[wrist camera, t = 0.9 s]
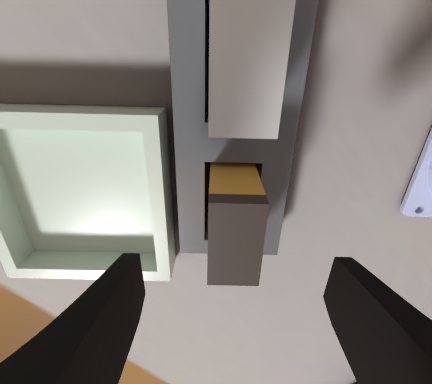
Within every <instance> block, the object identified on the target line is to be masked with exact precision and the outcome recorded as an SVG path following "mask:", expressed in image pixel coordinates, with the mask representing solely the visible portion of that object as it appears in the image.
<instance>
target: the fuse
mask: <svg viewBox="0 0 432 384" xmlns="http://www.w3.org/2000/svg"><path fill="white" fill-rule="evenodd" d="M295 3H296V0H210V4H209V116H208V137H210V138H252V139H278V132H279V124H280V117H281V109H282V102H283V94H284V86H285V79H286V71H287V64H288V56H289V48H290V41H291V33H292V25H293V18H294V10H295Z"/></svg>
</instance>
